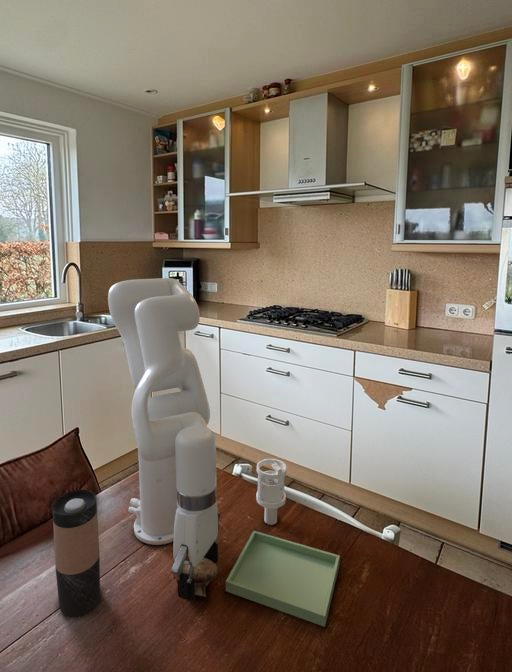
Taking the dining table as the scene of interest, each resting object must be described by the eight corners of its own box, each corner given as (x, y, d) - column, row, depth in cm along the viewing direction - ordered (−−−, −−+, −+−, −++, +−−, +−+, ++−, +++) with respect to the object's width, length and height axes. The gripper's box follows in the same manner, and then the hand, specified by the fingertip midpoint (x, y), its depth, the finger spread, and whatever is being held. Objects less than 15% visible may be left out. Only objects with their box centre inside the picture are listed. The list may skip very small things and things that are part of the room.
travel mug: (109, 589, 82) (105, 493, 79) (82, 623, 74) (77, 519, 72) (77, 578, 84) (72, 485, 81) (48, 611, 77) (41, 510, 74)
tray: (225, 591, 81) (225, 581, 81) (253, 538, 95) (253, 530, 95) (325, 627, 74) (325, 616, 74) (339, 564, 88) (339, 555, 88)
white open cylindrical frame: (266, 534, 97) (267, 473, 95) (250, 516, 103) (251, 458, 101) (291, 524, 100) (292, 464, 98) (274, 507, 106) (275, 451, 104)
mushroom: (209, 599, 76) (203, 559, 78) (171, 607, 77) (166, 567, 80) (227, 588, 82) (221, 551, 85) (191, 595, 84) (186, 559, 87)
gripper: (200, 468, 89) (202, 544, 90) (153, 517, 73) (157, 608, 74) (233, 475, 86) (234, 553, 87) (191, 527, 70) (194, 622, 72)
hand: (199, 578), depth 81 cm, fingers open, 9 cm apart
